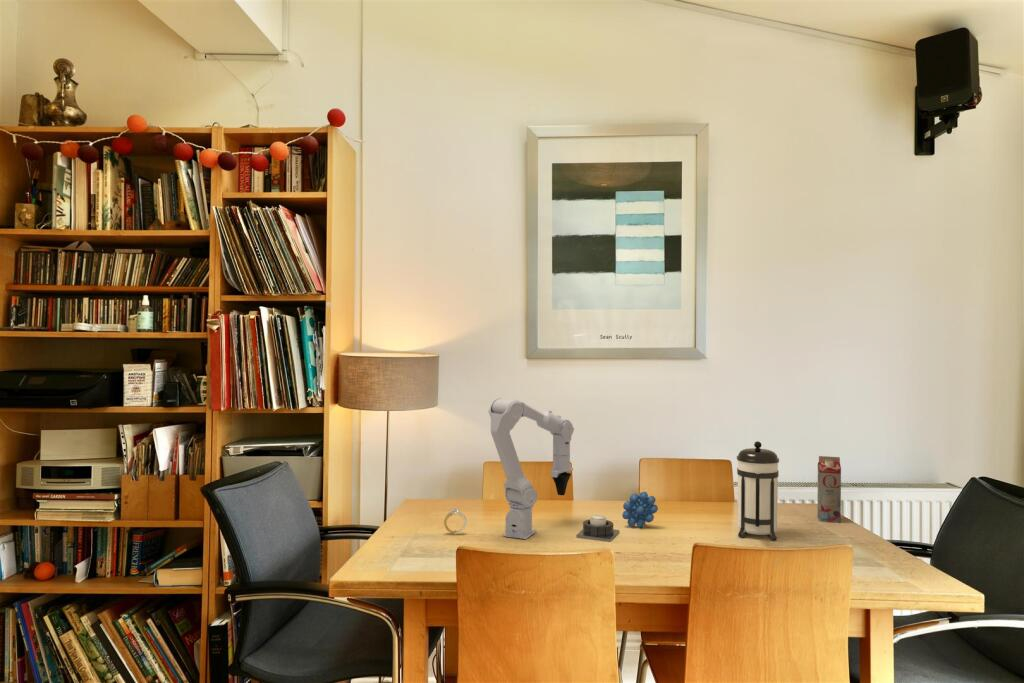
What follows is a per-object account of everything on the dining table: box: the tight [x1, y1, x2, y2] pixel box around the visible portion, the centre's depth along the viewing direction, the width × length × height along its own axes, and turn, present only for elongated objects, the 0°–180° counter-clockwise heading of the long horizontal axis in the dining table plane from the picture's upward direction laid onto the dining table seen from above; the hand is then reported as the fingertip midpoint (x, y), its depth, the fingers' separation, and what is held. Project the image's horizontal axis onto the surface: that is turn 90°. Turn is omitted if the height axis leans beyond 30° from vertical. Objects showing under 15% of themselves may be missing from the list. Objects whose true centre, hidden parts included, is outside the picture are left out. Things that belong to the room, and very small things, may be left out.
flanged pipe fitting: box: [575, 519, 620, 543], centre depth 217 cm, size 11×11×4 cm
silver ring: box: [443, 508, 467, 535], centre depth 217 cm, size 7×3×8 cm, turn 84°
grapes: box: [621, 491, 659, 528], centre depth 227 cm, size 12×7×12 cm, turn 81°
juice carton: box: [816, 455, 842, 524], centre depth 236 cm, size 7×7×22 cm
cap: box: [589, 514, 607, 526], centre depth 217 cm, size 5×5×5 cm
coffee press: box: [736, 440, 780, 542], centre depth 216 cm, size 17×16×30 cm
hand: (561, 494), depth 229 cm, fingers closed
